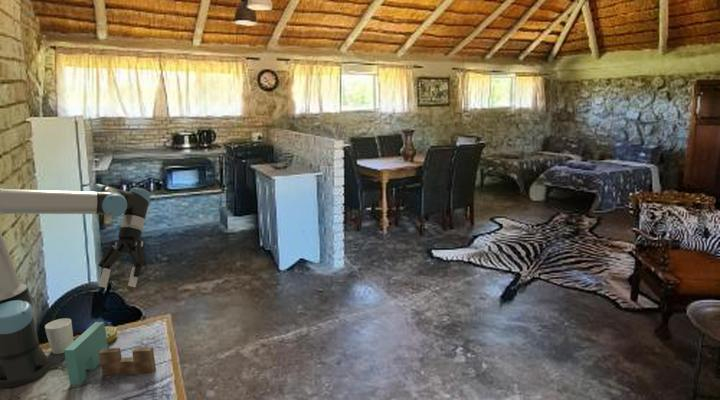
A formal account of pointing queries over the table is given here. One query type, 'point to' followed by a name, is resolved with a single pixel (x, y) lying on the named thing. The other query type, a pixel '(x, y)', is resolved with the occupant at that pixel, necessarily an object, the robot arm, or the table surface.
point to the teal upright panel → (85, 352)
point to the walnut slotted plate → (127, 361)
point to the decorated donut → (110, 333)
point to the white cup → (59, 335)
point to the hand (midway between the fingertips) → (116, 286)
